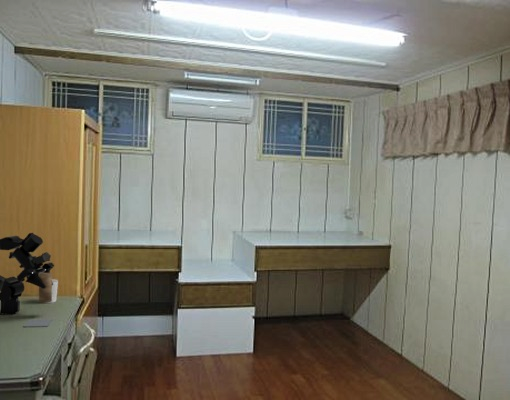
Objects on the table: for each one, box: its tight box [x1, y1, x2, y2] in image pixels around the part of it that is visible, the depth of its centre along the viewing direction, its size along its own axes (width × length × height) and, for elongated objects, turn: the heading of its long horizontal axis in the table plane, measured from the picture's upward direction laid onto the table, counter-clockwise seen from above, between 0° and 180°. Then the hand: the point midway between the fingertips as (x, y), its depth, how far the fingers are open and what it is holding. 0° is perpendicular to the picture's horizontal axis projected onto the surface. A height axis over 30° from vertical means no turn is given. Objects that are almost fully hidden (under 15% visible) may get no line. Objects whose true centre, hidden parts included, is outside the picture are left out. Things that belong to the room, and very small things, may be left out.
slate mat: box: [23, 318, 54, 328], centre depth 189 cm, size 9×9×1 cm
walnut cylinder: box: [38, 272, 53, 304], centre depth 200 cm, size 5×5×12 cm
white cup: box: [47, 278, 59, 304], centre depth 222 cm, size 8×8×10 cm
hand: (48, 286), depth 199 cm, fingers closed on walnut cylinder, 5 cm apart
